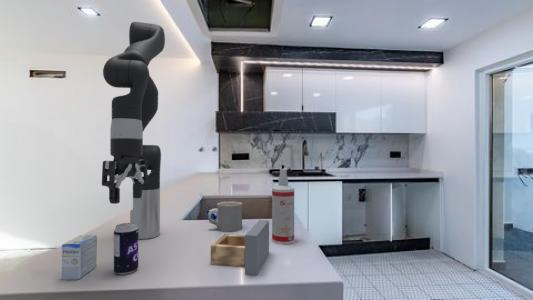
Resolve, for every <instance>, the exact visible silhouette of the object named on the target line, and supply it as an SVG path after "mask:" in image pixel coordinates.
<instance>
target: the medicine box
mask: <svg viewBox="0 0 533 300" xmlns="http://www.w3.org/2000/svg"><path fill="white" fill-rule="evenodd" d="M97 238H98V236H97V235H96V234H80V235H78V236H75V237H74V238H72V239H70V240H68V241H67V242H64V243H62V245H61V280H63V281H66V280H68V281H71V280H72V281H73V280H81V279H82V278H83V277H85V276H86V275H88V273H90V271H92V270H93V269H94V268H96V267H97V258H98V257H97V255H98V253H97V250H98V249H97V247H98V243H97V242H98V239H97Z"/></svg>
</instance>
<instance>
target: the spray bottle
mask: <svg viewBox="0 0 533 300" xmlns="http://www.w3.org/2000/svg"><path fill="white" fill-rule="evenodd" d="M287 171H288V170H287V168H280V169H279V177H278V185H277V186H274V187H272V188H271V195H272V196H271V232H272V233H271V242H273V243H274V244H278V245H286V246H287V245H292V244H294V243H295V187H292V186H290V185H289V178H288V174H287V173H288V172H287Z"/></svg>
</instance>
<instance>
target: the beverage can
mask: <svg viewBox="0 0 533 300" xmlns="http://www.w3.org/2000/svg"><path fill="white" fill-rule="evenodd" d="M138 231H139V229H138V227H137V224H136V223H130V222H123V223H119V224H116V225H115V229H114V230H113V272H114V273H116V274H117V275H123V276H124V275H130V274H132V273H134V272H135V271H136V270H138V268H139V239H138Z"/></svg>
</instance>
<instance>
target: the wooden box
mask: <svg viewBox="0 0 533 300" xmlns="http://www.w3.org/2000/svg"><path fill="white" fill-rule="evenodd" d="M245 235H246V234H244V235H243V234H242V235H241V234H230V233H229V234H226V233H225V234H223V235H221V237H219V238H218V239H217V240H216V241H214V242H213V243H212V244H210V265H217V266H229V267H241V268H245Z"/></svg>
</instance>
